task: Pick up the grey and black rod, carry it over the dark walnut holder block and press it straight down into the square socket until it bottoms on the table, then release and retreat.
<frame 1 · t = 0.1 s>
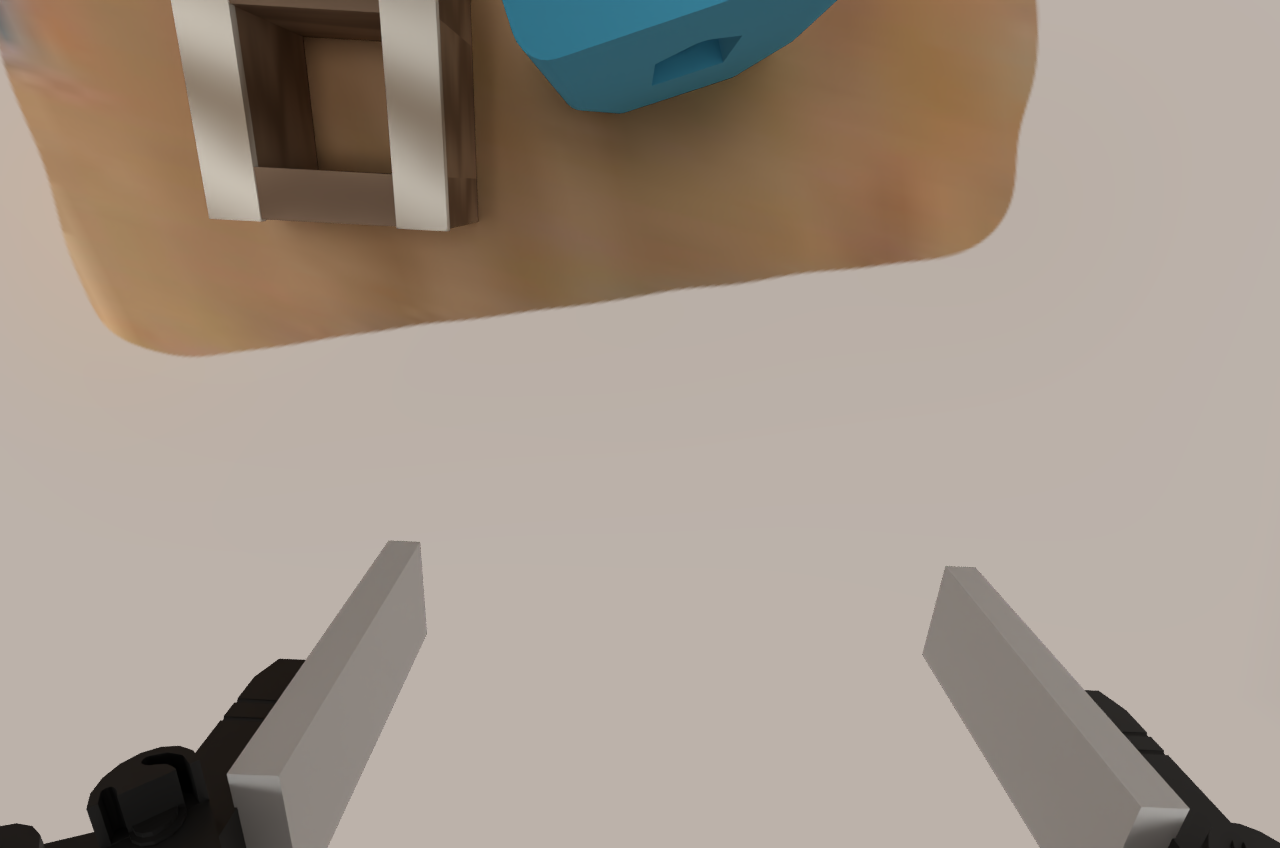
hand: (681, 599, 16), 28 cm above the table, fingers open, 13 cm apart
holder: (371, 108, 37), on the table
block: (665, 49, 36), on the table
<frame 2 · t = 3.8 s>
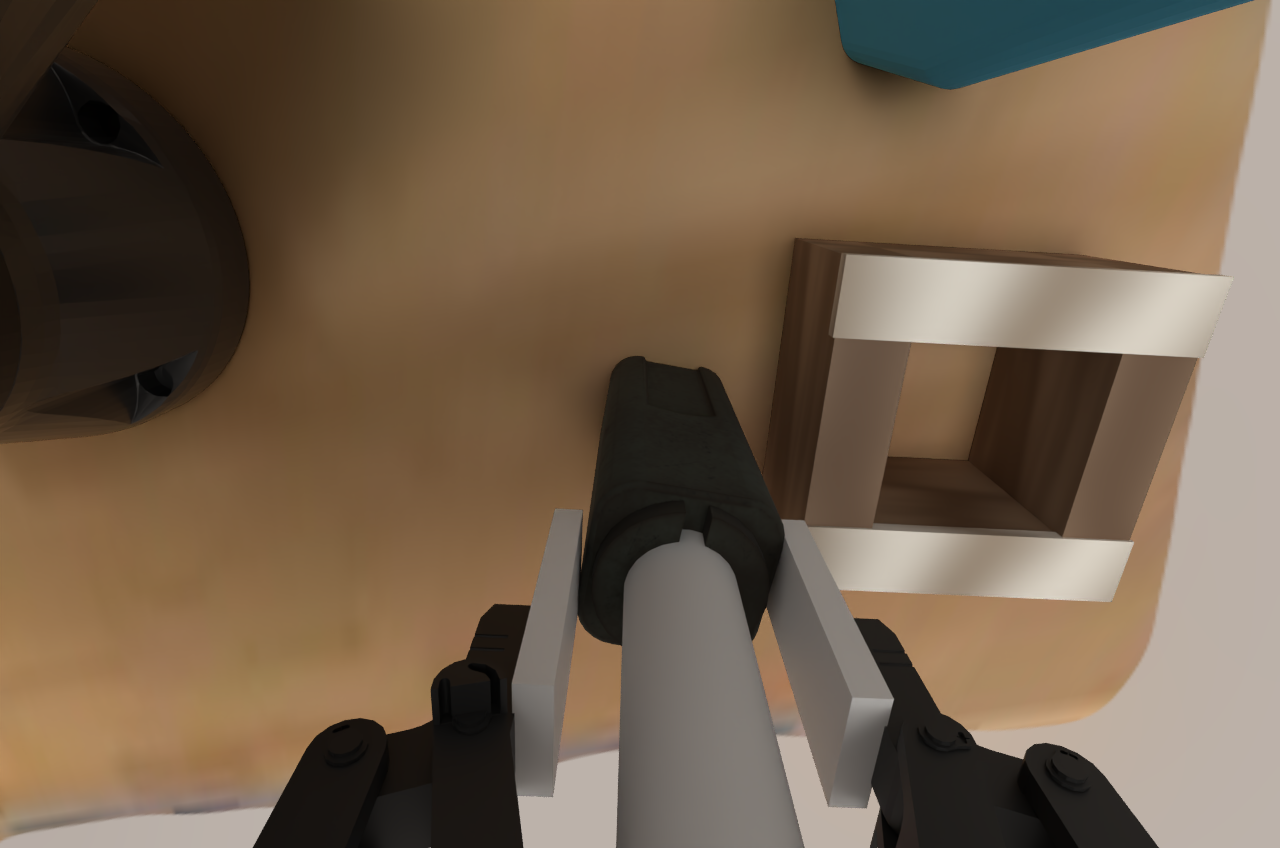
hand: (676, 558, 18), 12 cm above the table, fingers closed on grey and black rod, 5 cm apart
holder: (909, 385, 28), on the table
grey and black rod: (660, 413, 29), on the table, touching gripper
when the fingers open (12 cm above the table, at t = 9.3 s): grey and black rod stays where it is, resting in holder.
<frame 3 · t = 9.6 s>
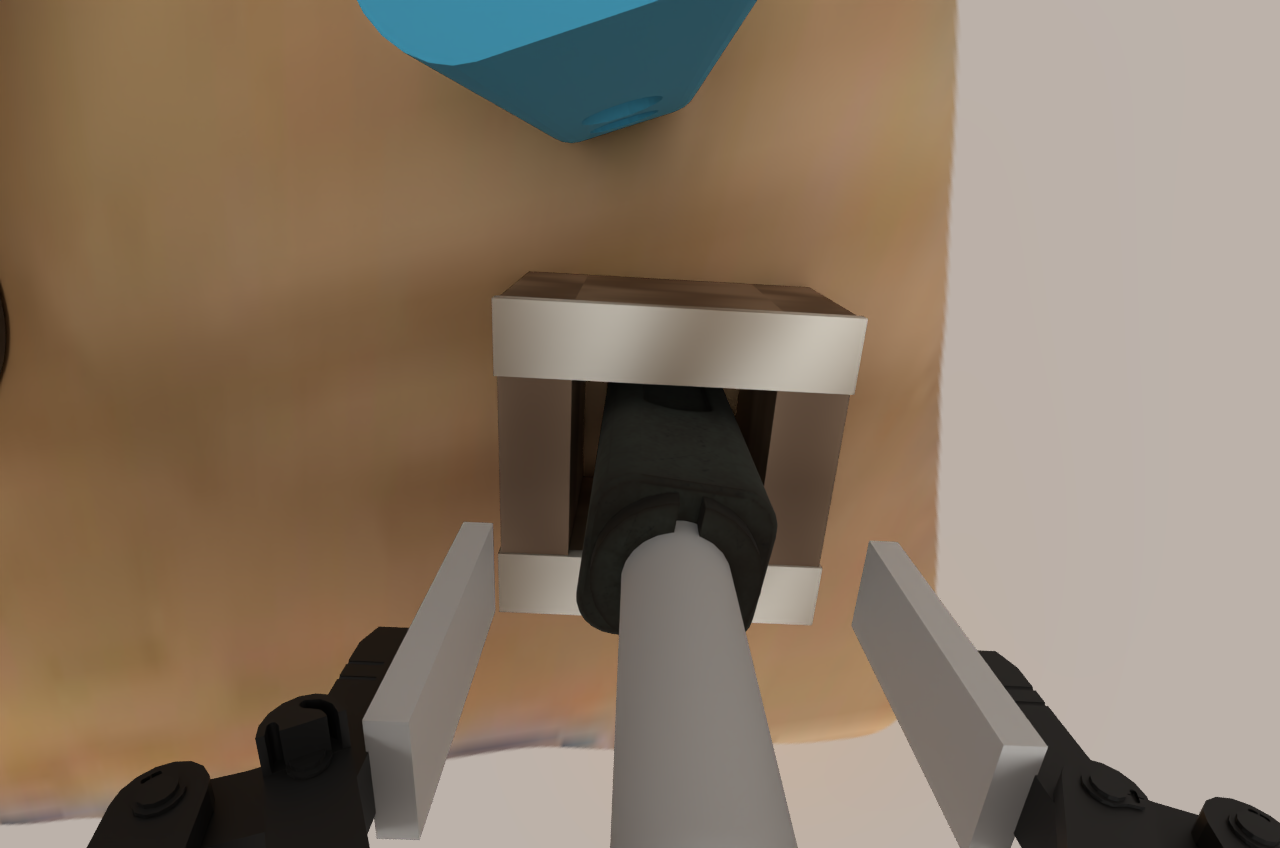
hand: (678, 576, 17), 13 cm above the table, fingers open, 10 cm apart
holder: (660, 411, 29), on the table
grey and black rod: (659, 410, 30), resting in holder
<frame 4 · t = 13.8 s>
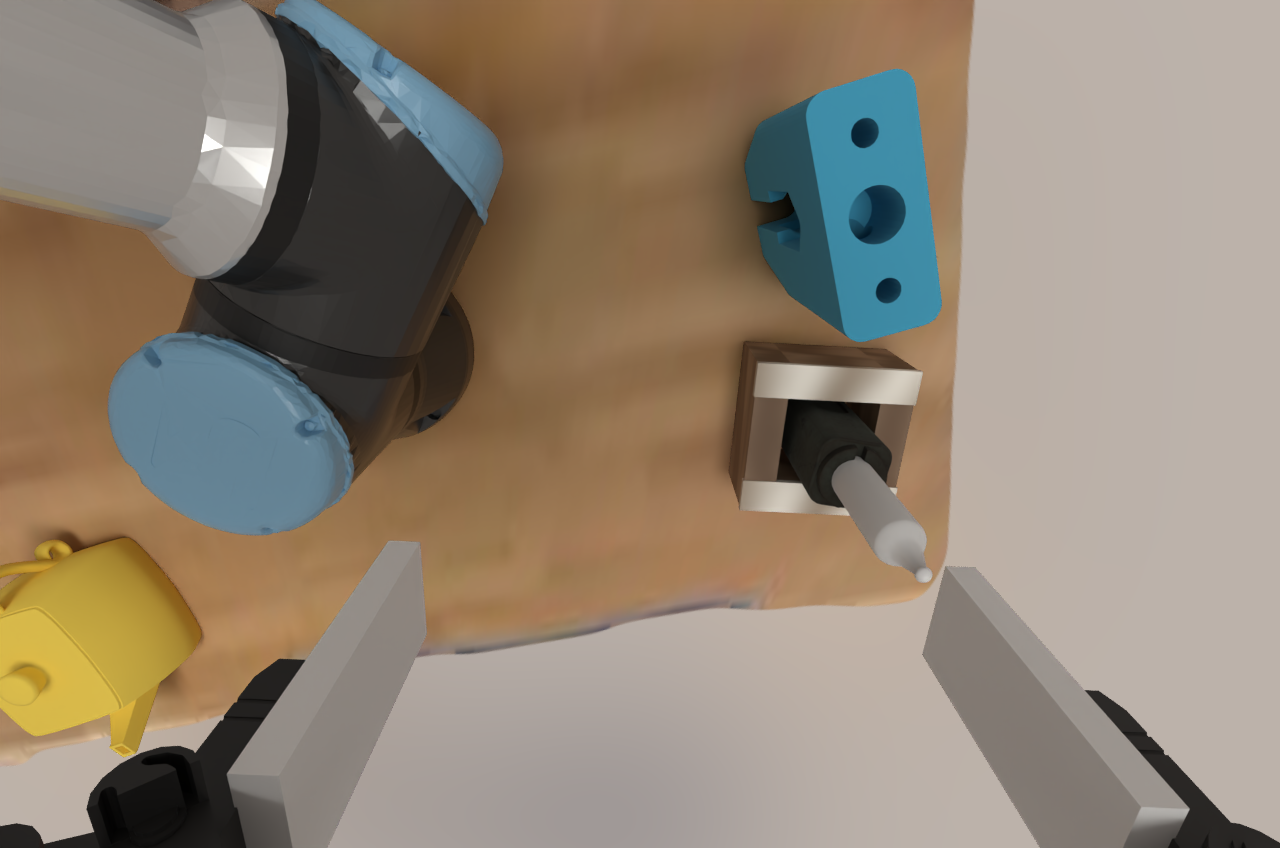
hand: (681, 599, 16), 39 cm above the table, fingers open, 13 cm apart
holder: (804, 412, 55), on the table
block: (785, 203, 50), on the table
grey and black rod: (803, 412, 56), resting in holder
teapot: (131, 608, 63), on the table
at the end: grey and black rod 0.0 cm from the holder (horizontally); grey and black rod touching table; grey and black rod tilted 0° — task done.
